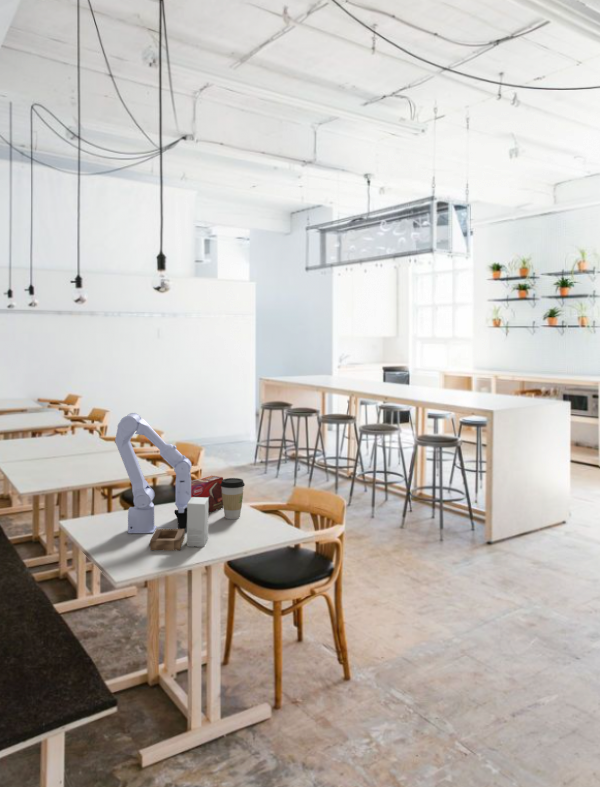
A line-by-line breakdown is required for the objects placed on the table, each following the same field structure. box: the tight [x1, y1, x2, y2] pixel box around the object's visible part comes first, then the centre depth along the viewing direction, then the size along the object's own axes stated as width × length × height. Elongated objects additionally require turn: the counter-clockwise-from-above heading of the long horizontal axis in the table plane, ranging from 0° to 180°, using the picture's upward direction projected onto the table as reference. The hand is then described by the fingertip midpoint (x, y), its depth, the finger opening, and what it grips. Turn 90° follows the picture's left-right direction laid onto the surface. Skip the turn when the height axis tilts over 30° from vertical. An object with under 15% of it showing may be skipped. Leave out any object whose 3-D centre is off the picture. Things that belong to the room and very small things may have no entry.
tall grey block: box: [176, 518, 187, 533], centre depth 239 cm, size 4×4×6 cm
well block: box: [149, 528, 186, 551], centre depth 223 cm, size 10×13×4 cm
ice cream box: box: [191, 474, 224, 514], centre depth 263 cm, size 20×6×13 cm, turn 148°
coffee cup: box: [220, 477, 246, 520], centre depth 256 cm, size 10×10×15 cm
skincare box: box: [186, 497, 209, 548], centre depth 224 cm, size 8×7×16 cm
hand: (183, 526), depth 239 cm, fingers open, 5 cm apart
